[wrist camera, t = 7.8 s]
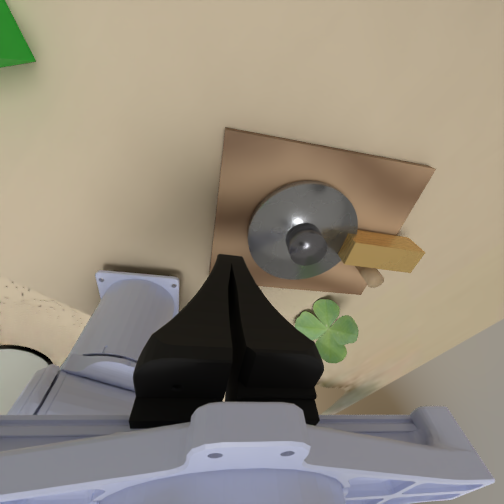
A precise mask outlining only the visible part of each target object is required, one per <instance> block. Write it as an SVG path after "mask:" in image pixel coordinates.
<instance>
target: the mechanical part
mask: <svg viewBox="0 0 504 504" xmlns="http://www.w3.org/2000/svg"><path fill="white" fill-rule="evenodd" d="M30 62H36V60H35V58H34V56H33V55H32V53H31V51H30V49H29V47H28V45H27V43H26V41H25V39H24V37H23V35H22V33H21V31H20V29H19V27H18V25H17V23H16V21H15V19H14V17H13V15H12V13H11V12H10V10H9V8H8V6H7V4H6V2H5V0H0V67H6V66H12V65H18V64H24V63H30Z"/></svg>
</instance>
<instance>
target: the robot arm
mask: <svg viewBox="0 0 504 504" xmlns="http://www.w3.org/2000/svg"><path fill="white" fill-rule="evenodd" d="M95 276H96V281H97V285H98V289H99V294H100V298H101V301H100V303H99V304H98V306H97V308H96V309H95V311H94V313H93V314H92V316H91V318H90V319H89V321H88V323H87V325H86V326H85V328H84V330H83V331H82V333H81V335H80V336H79V338H78V340H77V342H76V343H75V345H74V347H73V348H72V350H71V352H70V353H69V355H68V357H67V358H66V360H65V362H64V363H63V364H62V365H61V367H60V368H59V366H56V365H54V364H51V365H49V366H48V367H47V368H43V369H41V370H38V371H37V372H36V373H35V374H34V376H33V377H32V378H31V380H30V381H29V383H28V384H27V386H26V387H25V388H24V390H23V391H22V393H21V394H20V396H19V397H18V399H17V400H16V401H15V403H14V404H13V406H12V407H11V409H10V410H9V412H8V413H7V415H0V504H410V503H419V502H429V501H441V500H452V499H454V498H457V497H459V496H462V495H464V494H467V493H469V492H472V491H474V490H477V489H480V488H482V487H485V486H487V485H490V484H492V483H494V482H495V479H494V477H493V476H492V474H491V473H490V472H489V470H488V468H487V467H486V465H485V464H484V462H483V461H482V459H481V458H480V456H479V455H478V453H477V452H476V450H475V449H474V448H473V446H472V444H471V443H470V441H469V440H468V438H467V437H466V435H465V434H464V432H463V431H462V429H461V428H460V426H459V425H458V423H457V422H456V420H455V419H454V417H453V416H452V414H451V412H450V411H449V409H448V408H447V407H446V406H421V407H418V408H416V409H415V410H414V411H412V412H411V414H410V415H318V411H317V408H316V403H315V400H314V399H316V392H315V388H314V387H315V385H316V383H317V382H318V380H319V379H320V377H321V376H322V374H323V371H324V365H323V362H322V359H321V356H320V354H319V351H318V349H317V347H316V345H315V342H314V341H312V340H311V339H309V338H308V337H307V336H305V335H304V334H303V333H301V332H300V331H299V330H297V329H296V328H295V327H294V326H293V325H291V324H290V323H289V322H288V321H287V320H286V319H285V318H284V317H283V316H282V315H281V314H280V313H279V312H278V311H277V310H276V309H275V308H274V307H273V306H272V305H271V303H270V302H269V301H268V300H267V298H266V297H265V296H264V294H263V293H262V291H261V290H260V288H259V287H258V285H257V284H256V282H255V280H254V279H253V277H252V275H251V273H250V271H249V269H248V267H247V265H246V263H245V261H244V258H243V257H242V256H235V255H226V254H219V255H217V259H216V262H215V265H214V267H213V269H212V271H211V273H210V275H209V276H208V278H207V280H206V281H205V283H204V284H203V286H202V287H201V289H200V290H199V291H198V293H197V294H196V295H195V296H194V297H193V299H192V300H191V301H190V302H189V303H188V304H187V305H186V306H185V307H184V308H183V309H182V310H181V311H180V312H179V278H177V277H173V276H162V275H151V274H139V273H128V272H117V271H105V270H99V271H97V272H96V274H95ZM101 278H103V279H101ZM173 284H175V285H173ZM225 391H226V394H225ZM224 395H225V402H222V400H223V398H224Z"/></svg>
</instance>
